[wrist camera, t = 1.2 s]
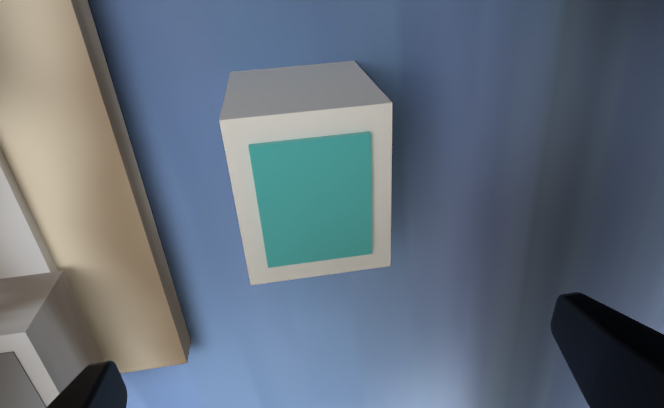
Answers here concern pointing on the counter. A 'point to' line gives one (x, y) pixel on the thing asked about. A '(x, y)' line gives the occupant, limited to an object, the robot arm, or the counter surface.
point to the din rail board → (72, 215)
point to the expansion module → (309, 169)
